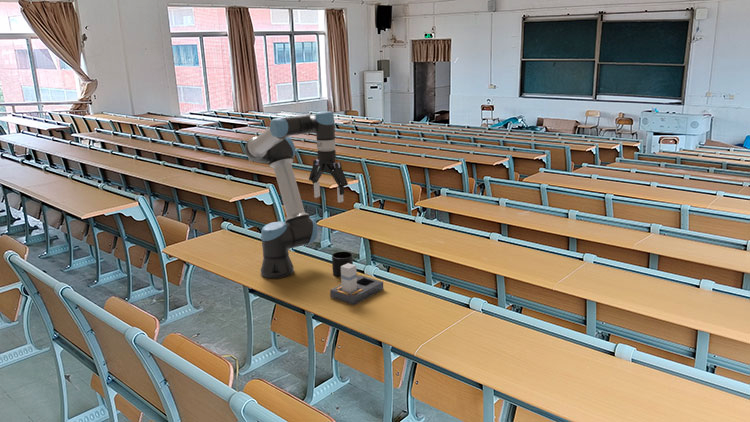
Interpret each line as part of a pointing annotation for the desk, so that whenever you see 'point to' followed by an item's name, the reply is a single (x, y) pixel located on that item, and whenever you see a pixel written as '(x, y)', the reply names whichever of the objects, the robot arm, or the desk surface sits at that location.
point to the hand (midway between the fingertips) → (328, 199)
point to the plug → (349, 278)
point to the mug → (340, 261)
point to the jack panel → (358, 290)
